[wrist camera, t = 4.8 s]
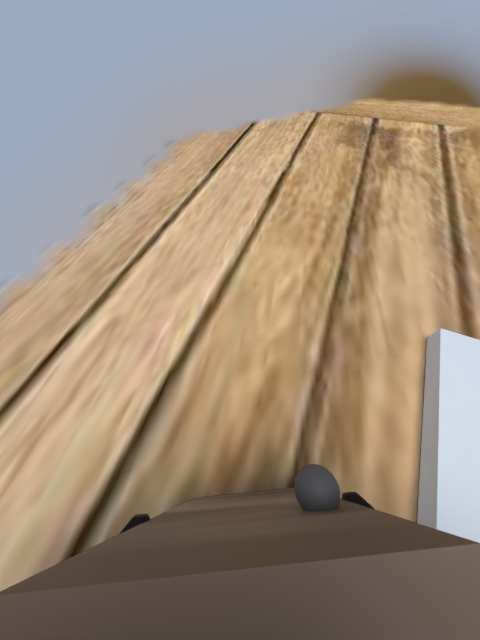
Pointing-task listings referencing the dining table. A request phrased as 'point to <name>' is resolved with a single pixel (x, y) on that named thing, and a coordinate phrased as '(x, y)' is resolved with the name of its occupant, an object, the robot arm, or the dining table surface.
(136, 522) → the robot arm
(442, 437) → the white base with frame
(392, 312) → the dining table surface
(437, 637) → the wooden rectangular pillar
